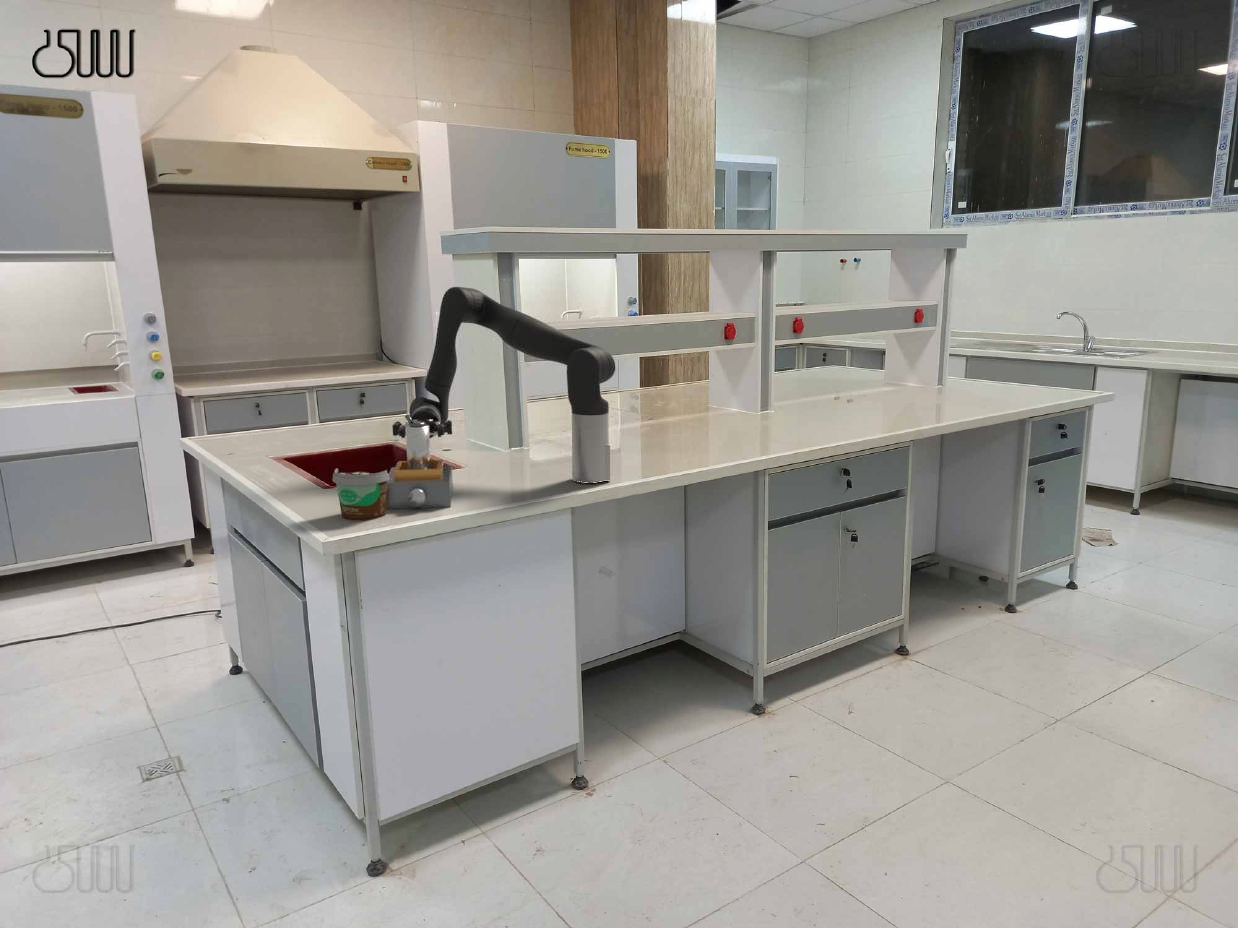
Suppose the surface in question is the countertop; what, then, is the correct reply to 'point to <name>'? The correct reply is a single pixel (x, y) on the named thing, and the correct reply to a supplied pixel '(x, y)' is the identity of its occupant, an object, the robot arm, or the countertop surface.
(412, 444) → the spout can
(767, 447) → the countertop surface
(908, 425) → the countertop surface
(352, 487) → the food container
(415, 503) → the box
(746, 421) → the countertop surface
